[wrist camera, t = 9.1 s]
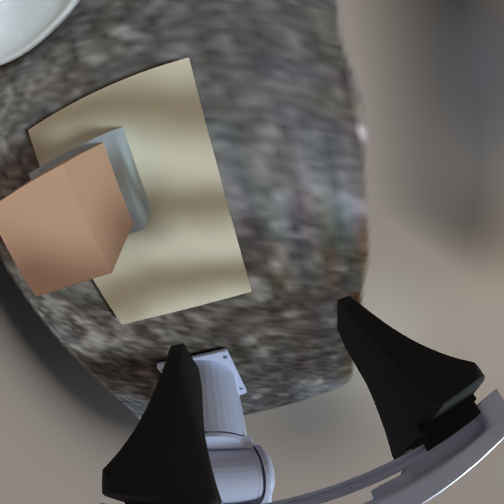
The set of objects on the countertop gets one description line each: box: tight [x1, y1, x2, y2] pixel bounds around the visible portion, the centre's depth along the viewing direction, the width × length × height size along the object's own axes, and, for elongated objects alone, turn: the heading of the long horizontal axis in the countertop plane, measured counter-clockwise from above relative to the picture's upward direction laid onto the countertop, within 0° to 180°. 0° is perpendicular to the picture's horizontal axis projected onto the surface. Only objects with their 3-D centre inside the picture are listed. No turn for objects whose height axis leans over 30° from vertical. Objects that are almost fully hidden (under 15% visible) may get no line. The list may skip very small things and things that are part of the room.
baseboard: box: [28, 58, 251, 324], centre depth 17 cm, size 18×12×4 cm, turn 12°
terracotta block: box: [0, 143, 133, 296], centre depth 11 cm, size 5×5×5 cm
